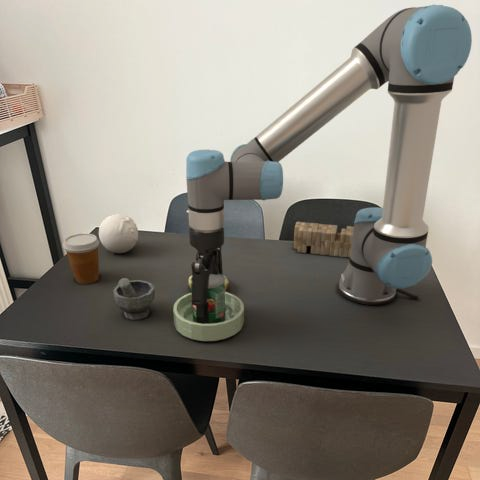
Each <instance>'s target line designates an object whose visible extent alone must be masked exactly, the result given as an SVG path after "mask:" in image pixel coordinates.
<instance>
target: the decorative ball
mask: <svg viewBox="0 0 480 480" xmlns="http://www.w3.org/2000/svg"><path fill="white" fill-rule="evenodd" d="M98 237H99V242H100V243H101V245H102V246H103V247H104V248H105V249H106V250H107V251H109V252H111V253H114V254H124V253H128V252H129V251H131V250H132V249H133V248H134V247H135V246H136V244H137V243H138V239H139V229H138V226H137V224H136V222H135V221H134V220H133V218H132V217H130V216H127V215H124V214H119V213H118V214H111V215H109V216H106V218H104V219H103V220H102V221H101V223H100V225H99V228H98Z"/></svg>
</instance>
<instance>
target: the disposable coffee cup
mask: <svg viewBox="0 0 480 480" xmlns="http://www.w3.org/2000/svg"><path fill="white" fill-rule="evenodd" d="M99 246H100V239H98V237H97V235H95V234H93V233H87V232H85V233H81V232H80V233H74V234H71V235H69V236H66V237H65V238H64V239H63V244H62V248H63V249H64V250H65V251H66V252H65V253H66V255H67V258H68V261H69V263H70V267H71V270H72V273H73V276H74V278H75V281H76V282H77V283H79V284H81V285H82V284H84V285H86V284H92V283H94V282H97V281H98V280H99V279H100V269H99Z"/></svg>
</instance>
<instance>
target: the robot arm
mask: <svg viewBox="0 0 480 480" xmlns="http://www.w3.org/2000/svg"><path fill="white" fill-rule="evenodd" d="M472 38H473V37H472V30H471V26H470V24H469V22H468V20H467V19H466V17H465V15H464V14H463V13H462V12H461V11H459V10H458V9H456V8H454V7H451V6H446V5H443V4H431V5H425V6H417V7H415V6H413V7H406V8H403V9H400V10H398V11H397V12H395V13H393V14H391V15H390V16H389V17H388V18H386V19H385V20H384V21H383V22H382V23H380V24H379V25H378V26H377V27H376V28H375V29H374V30H372V31H371V32H370V33H369V34H368V35H367V36H366V37H364V38H363V40H361V41H360V42H359V43H358V44H357V45H355V46H354V47H353V48H352V49H351V53H350V56H349V58H348V59H346V60H345V61H344V62H343V63H342V64H340V65H339V66H338V67H337V68H336V69H334V70H333V71H332V72H331V73H330V74H329V75H327V76H326V77H325V78H323V80H321V81H320V82H318V84H317V85H316V86H314V87H313V88H311V90H309V91H308V92H307V93H305V94H304V95H303V96H302V97H301V98H300V99H299V100H298V101H296V102H295V103H294V104H293V105H291V106H290V107H289V108H288V109H286V111H284V112H283V113H282V114H281V115H280V116H279V117H277V118H276V119H275V120H274V121H273V122H271V123H269V125H268V126H267V127H265V128H264V129H262V131H261V132H259V133H258V134H257V135H256V136H255V137H253V138H252V139H251V140H249V141H248V142H247V143H245V144H240V145H238V146H236V147H235V149H233V151H232V153H231V155H230V160H229V161H226V160H225V157H224V153H223V152H221V151H219V150H215V149H196V150H193V151H191V152H189V153H188V155H187V156H186V166H185V167H186V170H185V171H186V177H185V179H186V194H187V210H186V214H187V215H188V226H189V229H188V235H189V237H188V239H189V245H190V246H191V247H192V248H194V249H195V250H196V251H197V252H196V255H195V261H196V262H194V261H193V262H191V273H192V274H191V276H192V305H196V314H197V323H201V324H209V305H208V302H207V295H208V285H209V276H210V274H216V275H218V273H219V274H221V275H224V271H223V258H222V257H223V255H222V247H223V245H224V244H225V228H224V226H225V201H266V200H277V199H279V198H280V197H281V195H282V193H283V190H284V170H283V166H282V164H281V163H280V161H282V160H283V159H284V158H286V157H287V156H288V155H289V154H290V153H292V152H293V151H294V150H296V149H297V148H298V147H299V146H300V145H302V144H304V142H306V141H307V140H308V139H309V138H310V137H312V136H313V135H314V134H315V133H317V132H318V131H319V130H320V129H322V128H323V127H324V126H326V125H327V124H328V123H329V122H331V121H332V120H333V119H334V118H336V117H337V116H338V115H339V114H341V113H342V112H343V111H344V110H346V109H347V108H348V107H349V106H351V105H352V104H353V103H354V102H355V101H357V100H358V99H360V98H361V97H362V96H363V95H364V94H366V93H367V92H368V91H369V90H378V89H380V88H381V87H382V86H384V85H385V84H386V83H387V94H388V95H389V96H390V97H391V98H392V100H393V101H394V103H393V112H392V122H391V130H390V131H391V132H390V140H389V149H388V159H387V165H386V167H387V168H386V177H385V184H384V185H385V186H384V193H383V195H384V196H383V204H382V207H366V208H365V207H364V208H362V209H359V210H358V211H357V213H356V214H355V219H354V221H353V227H354V231H353V238H352V245H351V252H350V258H349V261H348V263H347V266H346V268H345V270H344V271H343V272H341V275H340V279H339V282H338V292H339V294H340V295H341V296H342V297H344V299H347V300H348V301H351V302H353V303H357V304H360V305H367V306H381V305H386V304H389V303H391V302H392V301H393V300H395V298H396V295H397V293H399V294H402V295H405V296H407V297H409V298H412V299H415V300H418V299H419V295H416V294H413V293H411V292H409V291H406V290H403V289H407V288H411V287H414V286H416V285H417V284H418V283H419V282H421V281H423V280H424V279H425V278H426V277H427V276H428V274H429V273H430V271H431V269H432V265H433V257H432V254H431V251H430V250H429V248H427V241H428V235H429V226H428V224H427V223H426V222H425V221H424V215H425V214H424V212H425V207H426V201H427V194H428V189H429V181H430V176H431V170H432V164H433V156H434V151H435V144H436V138H437V132H438V125H439V119H440V113H441V108H442V102H443V100H444V99H445V98H446V97H447V96H448V95H449V94H451V92H453V87H454V82H455V77H456V76H457V75H458V73H459V72H460V71H461V69H463V68H464V67H465V65H466V63H467V62H468V59H469V57H470V53H471V49H472V45H473V39H472Z"/></svg>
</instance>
